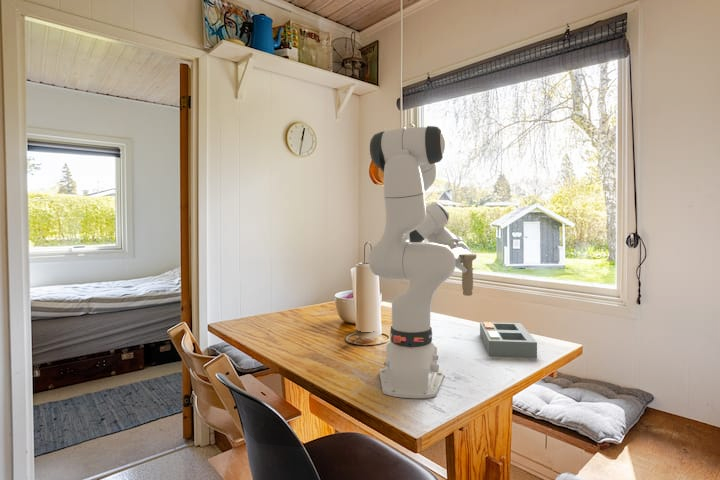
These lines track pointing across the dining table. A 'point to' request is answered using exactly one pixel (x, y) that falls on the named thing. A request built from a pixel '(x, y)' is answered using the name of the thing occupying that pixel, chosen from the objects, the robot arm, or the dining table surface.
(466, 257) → the handle
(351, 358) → the dining table surface
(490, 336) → the socket board
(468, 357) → the dining table surface
